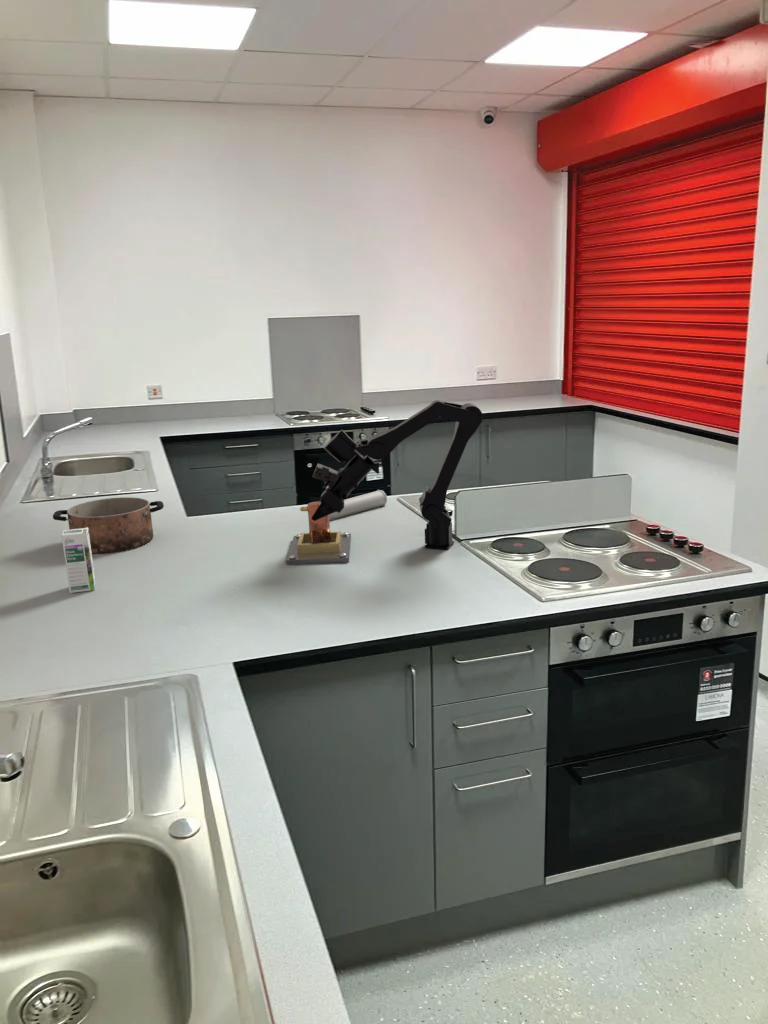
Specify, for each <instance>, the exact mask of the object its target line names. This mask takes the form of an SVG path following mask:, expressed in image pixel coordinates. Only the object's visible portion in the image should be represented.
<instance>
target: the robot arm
mask: <svg viewBox="0 0 768 1024" xmlns="http://www.w3.org/2000/svg"><path fill="white" fill-rule="evenodd" d="M439 418H442V419H446V420H449V421H453V422H455V425H454V429H453V430H454V432H453V435H452V438H451V441H450V443H449V444H448V448H447V450H446V453H445V455H444V457H443V459H442V461H441V464H440V467H439V469H438V471H437V474H436V476H435V479H434V481H433V483H432V484H431V485H430V487H427V486H424V487H423V489H422V490H423V491H422V495H420V497H419V498H418V501H419V502H418V503H419V508H420V513H421V515H422V517H423V519H424V520H426V521H428V522H427V523H426V525H425V526H426V528H424V544H425V545H424V548H426V549H437V550H449V548H451V547H452V546H453V545H454V544H455V541H454V540H453V522H452V518H451V515H450V513H449V511H448V510H447V509H446V508H445V504H446V499H447V494H448V489H449V487H450V484H451V482H452V479H453V478H454V475H455V473H456V470H457V468H458V466H459V463H460V461H461V458H462V456H463V454H464V451H465V449H466V447H467V444H468V442H469V441H470V439H471V438H472V437H473V436H474V434H475V433H476V432H477V430H478V429H479V427H480V426H481V424H482V422H483V418H484V416H483V412H482V410H481V409H480V408H479V407H478V406H477V405H476V404H474V403H472V402H468V403H464V404H459V403H453V402H448V401H443V400H439V399H435V400H433V401H432V402H431V403H430V404H429V405H427V406H425V407H424V408H422V409H421V410H419V411H417V412H416V413H415V414H413V415H411V416H410V417H408V418H407V419H405V420H404V421H402V422H400V423H399V424H398V425H396V426H394V427H392V428H389V429H386V430H383V431H380V432H378V433H375V434H373V435H372V436H370V437H369V438H368V439H364V440H360V441H359V440H358V441H355V440H353V439H352V438H351V437H350V436H349V435H348V434H347V433H346V431H345V430H343V429H340V431H339V432H337V433H336V434H335V435H334V436H332V438H331V439H330V440H328V442H327V443H326V445H325V446H323V449H324V450H325V451H326V452H327V453H328V454H329V455H330V456H331V457H333V458H334V459H335V460H336V461H338V463H341V462H342V463H347V464H346V465H344V467H342V468H339V469H338V470H335V469H333V468H331V467H329V466H326V465H323V464H321V463H317V464H316V467H315V469H314V471H313V473H312V478H314V479H315V480H320V481H321V482H324V485H323V487H322V493H321V495H320V499H319V501H321V503H320V505H319V507H318V508H317V510H316V511H315V513H314V514H313V516H312V518H311V519H312V520H313V521H315V520H318V519H320V518H322V517H324V516H327V515H329V514H332V513H334V512H338V513H340V512H341V510H342V509H343V508H344V500H346V499H348V496H349V495H350V494H351V493H352V492H353V491H354V490H355V489H357V488H358V487H359V484H360V483H361V482H362V481H364V479H365V477H366V476H367V475H368V474H369V473H370V472H371V471H374V473H375V474H377V475H378V474H380V460H383V459H385V458H386V457H387V456H389V454H391V453H392V452H393V451H394V450H395V449H396V448H397V446H398V445H400V443H402V442H403V441H404V440H406V439H407V438H409V437H410V436H412V435H413V434H415V433H417V432H418V431H420V430H422V429H423V428H425V427H427V425H429V424H432V422H434V421H435V420H437V419H439ZM364 455H365V456H364ZM374 460H377V461H374ZM326 485H327V486H326Z"/></svg>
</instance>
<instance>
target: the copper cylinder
mask: <svg viewBox="0 0 768 1024" xmlns="http://www.w3.org/2000/svg"><path fill="white" fill-rule="evenodd" d="M320 503H321V501H320V500H319V501H312V502H308V503H307V504H306V505H307V506H301V507H300V508H299V510H300V511H301V512H307V518H308V520H307V521H308V531H309V532H308V533H309V534H310V542H312V543H325V542H328V541H330V540H331V539H330V532H331V525H330V521H329V515H327V516H324V517H322V518H320V519H318V520H315V521H313V520H312V519H311V518H312V516H313V514H314V513H315V511H316V510H317V508H318V507H319V505H320Z"/></svg>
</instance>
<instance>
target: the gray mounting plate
mask: <svg viewBox="0 0 768 1024" xmlns="http://www.w3.org/2000/svg"><path fill="white" fill-rule="evenodd" d="M330 539H331V540H330V541H328V542H325V543H312V542H310V534H309V532H301V533H300V534H299V533H298V534H296V535H294V536H293V537H292V541H291V544H290V546H289V550H288V553H287V556H286V559H285V564H286V565H287V566H289V565H290V566H291V565H313V564H314V565H315V564H316V565H317V564H318V565H319V564H337V563H339V564H340V563H350V555H351V541H352V533H349V532H348V531H347V532H342V531H330Z"/></svg>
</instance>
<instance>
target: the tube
mask: <svg viewBox="0 0 768 1024" xmlns="http://www.w3.org/2000/svg"><path fill="white" fill-rule="evenodd" d="M387 502H388V495H387V494H386V492H385V491H384V490H381V489H377V490H375V491H372V492H368V493H364V494H361V495H356V496H354V497H353V496H352V497H350V498H347V499H346V500H344V508H343V509H342V510H341V512H340V513H338V512H334V513H332V514H329V522H331V521H332V520H336V519H341V518H344V517H347V516H351V515H355V514H357V513H362V512H366V511H368V510H373V509H377V508H380V507H384V506H386V505H387Z"/></svg>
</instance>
